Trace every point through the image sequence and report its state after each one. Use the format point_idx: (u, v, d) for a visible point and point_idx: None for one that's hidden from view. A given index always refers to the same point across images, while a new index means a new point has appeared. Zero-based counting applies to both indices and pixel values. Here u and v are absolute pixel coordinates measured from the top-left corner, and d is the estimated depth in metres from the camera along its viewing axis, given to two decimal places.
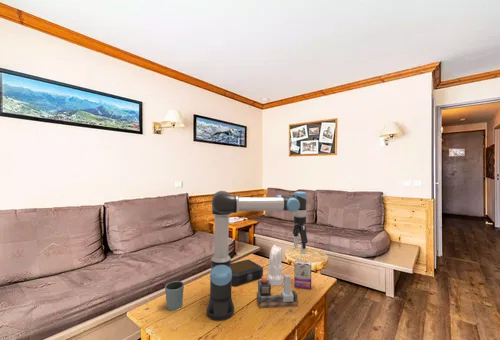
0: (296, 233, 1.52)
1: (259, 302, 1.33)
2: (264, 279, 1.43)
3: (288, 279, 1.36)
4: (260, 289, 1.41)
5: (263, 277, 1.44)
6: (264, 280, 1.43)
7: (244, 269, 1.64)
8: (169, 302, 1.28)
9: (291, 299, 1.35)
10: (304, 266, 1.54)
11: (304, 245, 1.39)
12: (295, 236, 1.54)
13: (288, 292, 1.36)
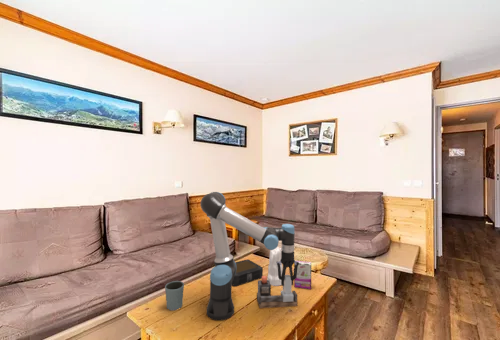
0: (290, 274, 1.38)
1: (259, 302, 1.33)
2: (264, 279, 1.43)
3: (288, 279, 1.36)
4: (260, 289, 1.41)
5: (263, 277, 1.44)
6: (264, 280, 1.43)
7: (244, 269, 1.64)
8: (169, 302, 1.28)
9: (291, 299, 1.35)
10: (304, 266, 1.54)
11: (281, 281, 1.37)
12: None
13: (288, 292, 1.36)
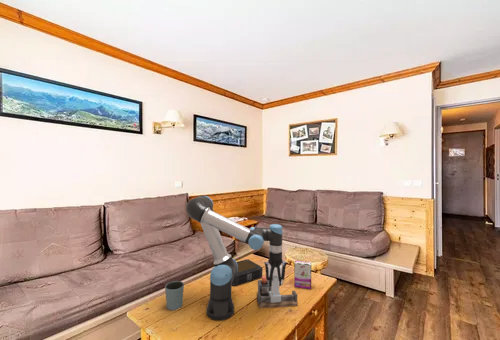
0: (278, 274, 1.37)
1: (259, 302, 1.33)
2: (264, 279, 1.43)
3: (276, 280, 1.35)
4: (260, 289, 1.41)
5: (263, 277, 1.44)
6: (264, 280, 1.43)
7: (244, 269, 1.64)
8: (169, 302, 1.28)
9: (279, 300, 1.34)
10: (304, 266, 1.54)
11: (269, 282, 1.36)
12: None
13: (276, 293, 1.35)
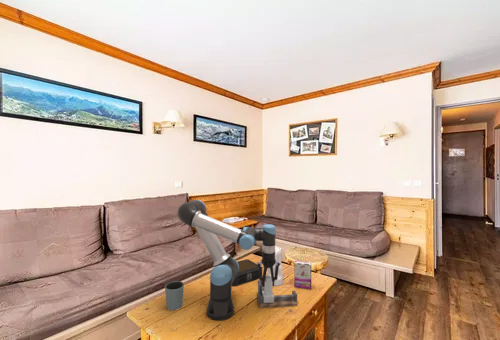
0: (271, 274, 1.36)
1: (259, 302, 1.33)
2: None
3: (269, 280, 1.34)
4: (260, 289, 1.41)
5: None
6: None
7: (244, 269, 1.64)
8: (169, 302, 1.28)
9: (272, 300, 1.33)
10: (304, 266, 1.54)
11: (262, 282, 1.35)
12: (271, 280, 1.37)
13: (269, 293, 1.34)
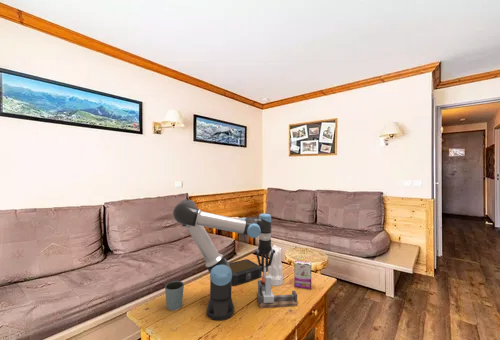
0: (265, 261, 1.45)
1: (259, 302, 1.33)
2: (264, 279, 1.43)
3: (269, 280, 1.34)
4: (260, 289, 1.41)
5: (263, 277, 1.44)
6: (264, 280, 1.43)
7: (243, 269, 1.65)
8: (169, 302, 1.28)
9: (272, 300, 1.33)
10: (304, 266, 1.54)
11: (261, 268, 1.44)
12: (264, 266, 1.45)
13: (269, 293, 1.34)
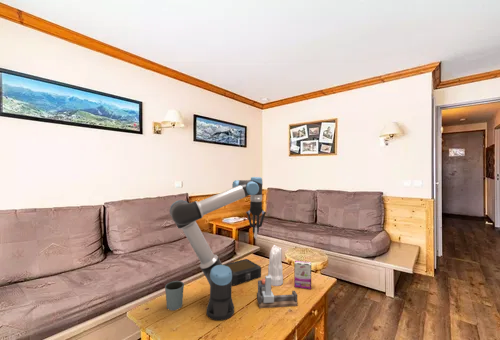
0: None
1: (259, 302, 1.33)
2: (264, 282, 1.43)
3: (269, 280, 1.34)
4: (260, 289, 1.41)
5: (263, 280, 1.44)
6: (264, 283, 1.43)
7: (242, 269, 1.65)
8: (169, 302, 1.28)
9: (272, 300, 1.33)
10: (304, 266, 1.54)
11: None
12: (256, 227, 1.50)
13: (269, 293, 1.34)
